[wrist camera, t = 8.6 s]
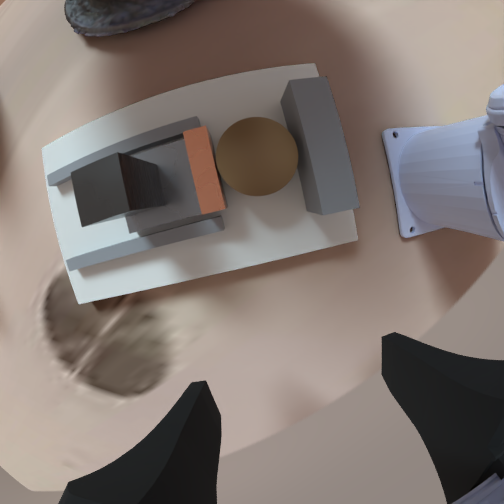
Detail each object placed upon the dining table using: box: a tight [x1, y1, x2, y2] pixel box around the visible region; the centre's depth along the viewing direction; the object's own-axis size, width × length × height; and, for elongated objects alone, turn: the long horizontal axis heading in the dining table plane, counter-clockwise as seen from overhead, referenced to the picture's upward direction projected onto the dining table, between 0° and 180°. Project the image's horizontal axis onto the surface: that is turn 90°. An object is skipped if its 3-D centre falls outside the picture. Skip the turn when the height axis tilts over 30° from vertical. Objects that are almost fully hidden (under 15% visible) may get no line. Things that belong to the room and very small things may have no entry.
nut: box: [216, 117, 298, 196], centre depth 14 cm, size 4×4×3 cm
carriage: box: [71, 125, 228, 234], centre depth 13 cm, size 6×4×6 cm
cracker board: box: [42, 63, 360, 304], centre depth 15 cm, size 20×12×5 cm, turn 103°
